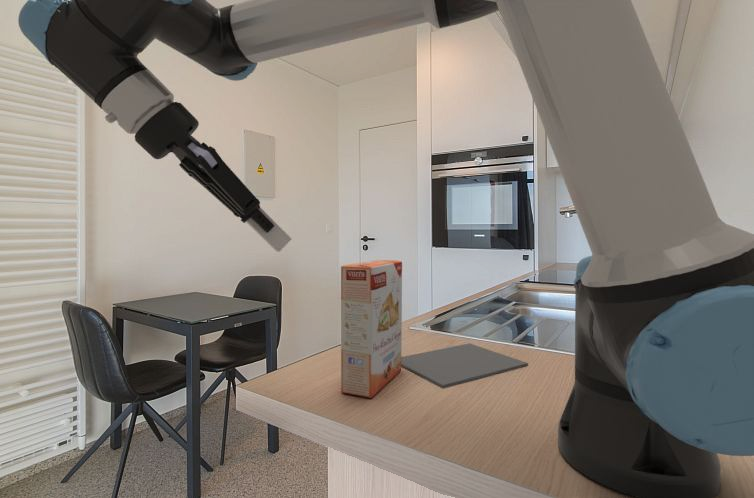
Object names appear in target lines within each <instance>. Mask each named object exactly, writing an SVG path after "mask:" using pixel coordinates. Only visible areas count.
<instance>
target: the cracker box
mask: <svg viewBox="0 0 754 498" xmlns="http://www.w3.org/2000/svg"><path fill="white" fill-rule="evenodd" d="M402 297H403V262H402V261H401V260H386V259H384V260H381V259H380V260H379V259H377V260H370V261H364V262H357V263H351V264H344V265H340V333H341V334H340V376H341V377H340V378H341V379H340V383H341V384H340V385H341V387H340V392H341V393H342V394H348V395H353V396H359V397H363V398H368V399H372V398H373V397H374V396H375V395H376V394H377V393H378V392H379V391H381V390H382V389H383V388H384V387H386V385H387V384H388V383H389V382H390V381H391V380H393V379H394V378H395V377H396V376H397V375H398V374H399V373H401V371H402V367H401V357H402V345H403V344H402V341H403V340H402V331H403V330H402V323H403V322H402V321H403V320H402V318H403V316H402V315H403V312H402V311H403V310H402V308H403V307H402V306H403V302H402V300H403V298H402Z"/></svg>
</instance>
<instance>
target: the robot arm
mask: <svg viewBox="0 0 754 498" xmlns="http://www.w3.org/2000/svg"><path fill="white" fill-rule="evenodd" d="M24 3H25V4H23V6H22V7H21V9H20V11H19V14H18V19H17V20H18V27H19V29H20V32H21V33H22V34H23V36H24V37H25V38H27V40H28V41H29V42H30V43H31V44H32V45H33V46H34V47H35V48H36V49H37V50H38V52H40V53H41V55H43V56H44V58H45V59H46V61H47V62H49V64H50V65H51V66H54V68H57V69H58V70H59V71H60V72H61V73H62V74H63V75H65V77H66V78H68V79H69V80H70V81H71V82H72V83H73V84H75V86H76V87H78V89H80V90H81V91H82V92H83V93H84V94H85V95H86V96H87V97H89V98H90V99H91V100H92V101H93V102H94V103H95V104H96V105H97V106H98V107H99V108H100V109H101V110H102V111H103V112H104V113H106V114H107V115H105V116H104V118H105V121H106V122H108V123H109V124H113V123H114V122H117V125H118V126H119V127H120V128H122V130H123V131H125V132H126V133H127V134H128V135H133V134H135V135H134V141H135V142H136V143H137V144H138V145H139V146H140V147H141V148H142V149H143V150H144V151H145V152H147V153H148V154H149V155H150V156H151V157H152V158H153V159H154V160H162V159H163V158H165V157H167V156H168V155H169V154H170V153H172V154H174V156H175V157H176V158H177V159H178V161H179V162H180V163H179V164H178V165H179V167H180V169H182V170H183V171H184V172H185V173H186V174H187V175H188V176H189V177H191V178H193V180H195V181H196V182H197V183H199V184H200V185H201V186H202V187H203V188H205V190H206V191H208V192H209V193H210V194H211V195H212V196H213V197H215V198H216V199H217V200H218V201H219V202H220V203H221V204H222V205H224V206H225V207H226V208H227V209H228V210H229V211H230V212H232V214H233V216H235V217H237V218H240V221H241V223H244V224H248V226H250V227H251V228H252V229H253V230H254V231H255V232H256V234H258V235H259V236H260V237H261V238H262V239H263V240H264V241H266V243H267V244H268V245H269V246H270V247H271V248H273V250H274V251H276V252H281V251H282V250H283V249H284V248H285V247H286V246H287V245H288V244H289V243H290V242H291V240H292V238H291V236H290V235H288V233H287V232H286V231H284V230H283V228H282V227H280V226H279V224H277V222H276V221H274V219H273V218H272V217H270V215H269V214H268V213H267V212H266V211H265V210H263V208H262V207H261V201H260V200H259V198H257V197H256V196H255V195H254V194H253V192H251V191H250V189H249V188H248V187H247V185H245V183H244V182H243V181H242V180H241V179H240V178H239V177H238V176H237V175H236V173H235V171H234V172H233V170H232V169H231V168H230V167H229V166H228V165H227V164H226V163H225V161H224V160H223V159H222V158H221V156H220V154H219V153H218V151H217V150H216V149H215V147H212V146H211V145H208V144H206V142H202V143H201V142H200V141H199V140H198V139H196V138H195V137H194V136H192V134H194V132H195V131H197V129H198V128H199V125H200V124H199V120H198V119H197V118H196V117H195V116H194V115H193V114H192V113H191V112H190V111H189V110H188V109H187V108H186V106H184V105H183V104H182V103H181V102H178V101H174V99H175V95H174V94H173V92H171V91H170V90H169V89H168V87H166V86H165V84H163V83H162V82H161V80H159V78H157V76H156V75H154V74H153V73H152V71H151V70H149V69H148V67H146V65H144V64H143V62H142V61H141V60H140V59H139V58H138V55H139V54H140V53H142V52H143V51H144V50H146V48H147V47H149V45H150V44H152V42H154V41H155V40H157V41H159V42H161V43H163V44H164V45H166V46H167V47H170V48H172V49H173V50H175V51H176V52H178V53H180V54H182V55H184V56H185V57H186V58H188V59H190V60H192V61H194V62H195V63H197V64H199V65H200V66H202V67H203V68H205V69H207V70H208V71H210V72H211V73H212V74H214V75H217V76H220V77H222V78H225V79H227V80H230V81H232V82H233V81H234V82H237V81H238V82H239V81H243V80H245V79H247V78H248V77H249V75H251V74H252V73H253V72H254V71H255V70H256V68H257V65H258V64H259V63H262V62H267V61H269V60H273V59H277V58H282V57H287V56H291V55H295V54H299V53H303V52H308V51H312V50H315V49H320V48H324V47H330V46H332V45H337V44H340V43H345V42H349V41H353V40H357V39H362V38H367V37H370V36H371V37H372V36H374V35H378V34H379V35H380V34H383V33H387V32H391V31H395V30H399V29H403V28H407V27H412V26H417V25H421V24H424V23H429V24H430V25H432V26H433V27H434V28H436V29H438V30H439V29H443V28H448V27H451V26H456V25H459V24H463V23H468V22H471V21H473V20H477V19H479V18H480V19H481V18H483V17H486V16H489V15H491V14H494V13H496V12H498V11H499V13H500V17H501V19H502V21H503V24H504V26H505V29H506V32H507V34H508V36H509V37H508V38H509V40H510V42H511V44H512V47H513V50H514V53H515V55H516V58H517V61H518V63H519V66H520V68H521V71H522V73H523V76H524V79H525V81H526V84H527V87H528V89H529V92H530V95H531V97H532V100H533V102H534V105H535V108H536V111H537V113H538V116H539V119H540V121H541V123H542V126H543V128H544V132H545V133H546V136H547V139H548V142H549V145H550V147H551V150H552V152H553V155H554V158H555V160H556V162H557V163H556V164H557V166H558V168H559V171H560V172H561V176H562V178H563V180H564V184H565V186H566V189H567V191H568V194H569V196H570V200H571V202H572V204H573V207H574V210H575V213H576V215H577V218H578V220H579V223H580V225H581V228H582V232H583V233H584V235H585V239H586V241H587V244H588V247H589V248H590V251H591V255H590V256H585V257H584V258H582V259H581V260H579V262H578V263H577V265H576V269H575V271H576V272H575V278H574V280H573V287H574V289H575V301H574V303H575V304H574V305H575V309H574V310H575V313H574V315H575V316H574V319H575V321H574V325H575V326H574V327H575V328H574V337H575V338H574V382H573V383H574V384H573V386H572V389H571V391H570V394H569V396H568V399H567V401H566V404H565V407H564V409H563V411H562V414H561V417H560V419H559V421H558V426H557V427H558V428H557V446H558V449H559V453H560V455H562V457H563V458H564V459H565V460H566V461H567V463H569V465H571V467H573V469H575V470H577V471H578V472H579V473H581V474H582V475H584V476H586V477H588V478H590V479H591V480H593V481H594V482H596V483H598V484H600V485H603V486H604V487H608V488H609V489H612V490H613V491H617V492H620V493H622V494H626V495H629V496H631V497H632V496H633V497H635V498H714V497H715V496H717V495H718V494H719V492H720V489H721V461H720V458H719V455H726V456H735V457H736V456H737V457H753V456H754V233H751V232H749V231H745V230H744V229H742V228H738V227H735V226H733V225H731V224H727V223H725V221H723V220H722V218H720V216H719V215H718V212H717V210H716V206H715V205H714V202H713V200H712V197H711V195H710V193H709V191H708V187H707V184H706V182H705V180H704V178H703V175H702V172H701V171H700V168H699V165H698V163H697V160H696V158H695V156H694V152H693V150H692V148H691V146H690V143H689V141H688V138H687V136H686V133H685V131H684V128H683V125H682V123H681V121H680V119H679V116H678V113H677V110H676V108H675V106H674V104H673V101H672V97H671V96H670V93H669V91H668V89H667V86H666V84H665V81H664V78H663V76H662V74H661V71H660V69H659V67H658V64H657V61H656V58H655V56H654V54H653V51H652V49H651V47H650V43H649V41H648V38H647V37H646V35H645V32H644V29H643V27H642V24H641V22H640V19H639V16H638V14H637V11H636V9H635V7H634V6H635V5H634V4H633V2H632V0H244V1H241V2H238V3H234V4H231V5H228V6H223V7H220V8H218V7H217V8H216V7H215V6H214V5H212V4H211V3H210V2H208V1H207V0H27V1H26V2H24ZM718 454H719V455H718Z"/></svg>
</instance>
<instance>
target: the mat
mask: <svg viewBox="0 0 754 498" xmlns="http://www.w3.org/2000/svg"><path fill="white" fill-rule="evenodd" d="M527 366H529V363H528V362H526V361H524V360H521V359H517V358H514V357H511V356H509V355H505V354H502V353H500V352H497V351H494V350H491V349H487V348H484V347H481V346H479V345H476V344H473V343H464V344H459V345H454V346H450V347H444V348H439V349H434V350H430V351H425V352H420V353H415V354H409V355H405V356H401V368H404V369H405V370H407V371H409V372H411V373H413V374H415V375H417V376H419V377H420V378H422V379H425V380H426V381H429V382H430V383H432V384H434V385H436V386H437V387H440V388H442V389H444V388H448V387H452V386H456V385H460V384H463V383H467V382H471V381H475V380H479V379H483V378H486V377H491V376H494V375H498V374H501V373H505V372H509V371H513V370H516V369H517V370H518V369H520V368H525V367H527Z"/></svg>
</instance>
